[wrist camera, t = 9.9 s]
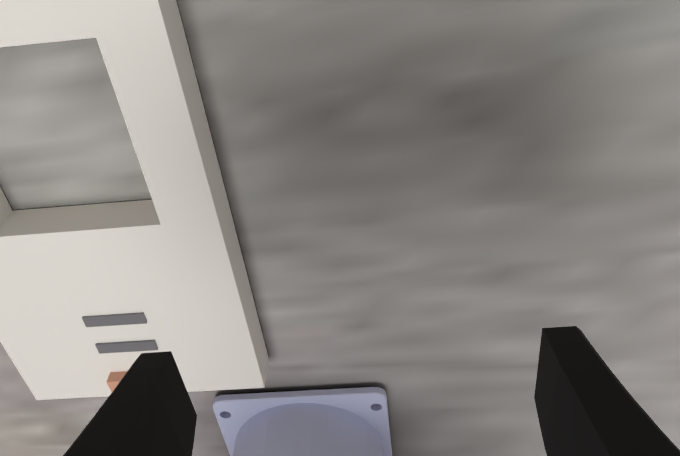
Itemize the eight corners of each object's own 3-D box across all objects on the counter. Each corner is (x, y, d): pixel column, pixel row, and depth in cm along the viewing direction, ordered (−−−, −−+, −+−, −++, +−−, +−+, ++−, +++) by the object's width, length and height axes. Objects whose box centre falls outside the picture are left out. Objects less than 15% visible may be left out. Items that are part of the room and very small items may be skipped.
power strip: (268, 358, 28) (263, 397, 26) (50, 370, 29) (31, 409, 27) (152, -91, 17) (130, -74, 15) (-192, -51, 18) (-249, -31, 16)
